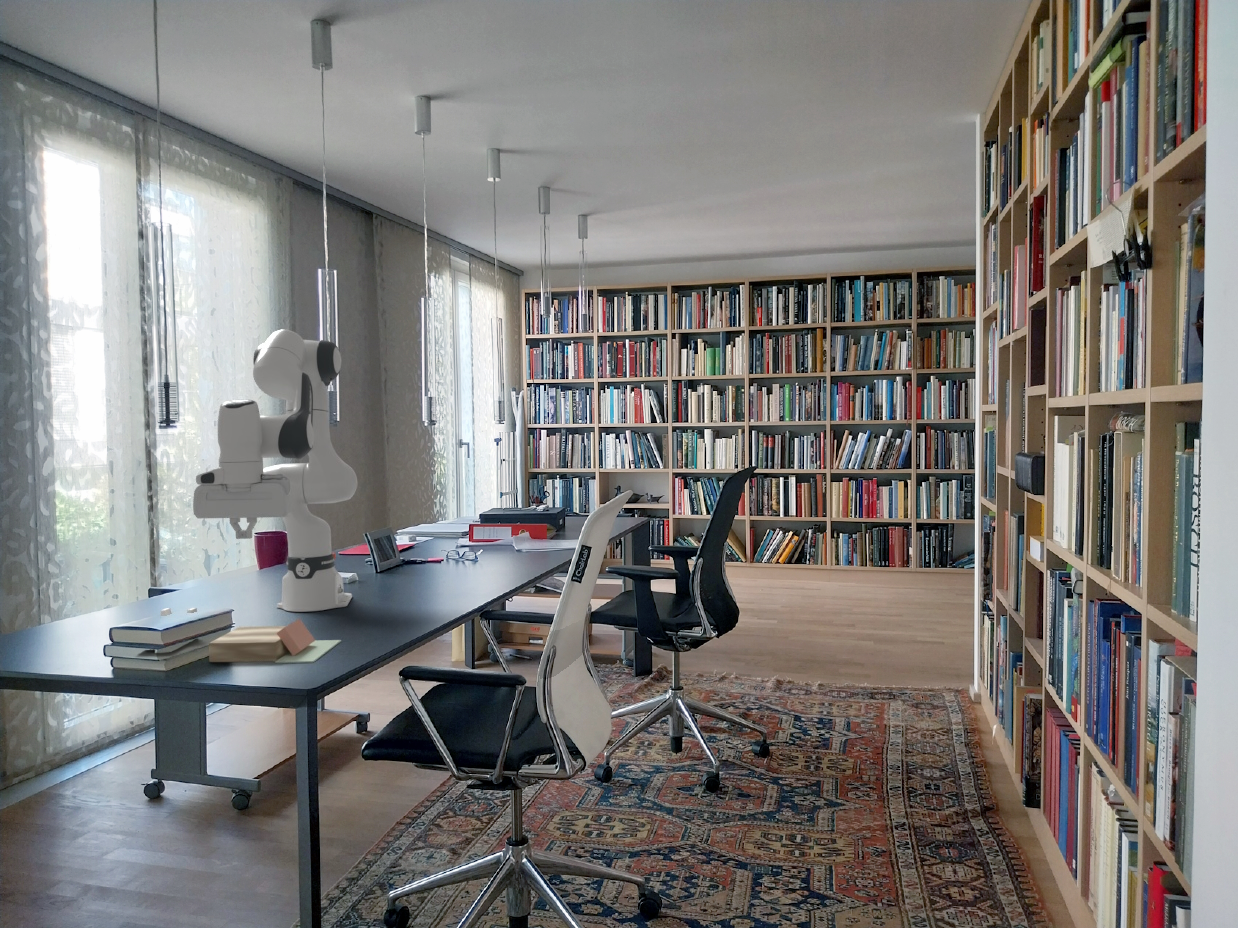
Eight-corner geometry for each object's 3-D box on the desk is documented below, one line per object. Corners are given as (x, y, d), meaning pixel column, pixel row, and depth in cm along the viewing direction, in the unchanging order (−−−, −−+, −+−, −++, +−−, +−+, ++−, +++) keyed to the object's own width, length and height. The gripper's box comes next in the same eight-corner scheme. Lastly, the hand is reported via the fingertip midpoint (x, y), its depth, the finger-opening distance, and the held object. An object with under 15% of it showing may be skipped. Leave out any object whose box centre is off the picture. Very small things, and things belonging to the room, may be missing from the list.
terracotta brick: (292, 623, 201) (299, 618, 200) (308, 645, 201) (315, 640, 201) (276, 633, 192) (284, 627, 191) (293, 655, 192) (300, 650, 192)
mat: (306, 641, 205) (306, 640, 205) (341, 641, 205) (341, 639, 205) (275, 662, 187) (275, 661, 187) (313, 662, 187) (313, 661, 187)
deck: (240, 644, 204) (239, 626, 204) (301, 643, 204) (301, 625, 204) (209, 662, 189) (208, 643, 189) (276, 661, 189) (275, 642, 189)
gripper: (294, 473, 198) (297, 535, 199) (202, 474, 198) (204, 537, 199) (283, 475, 192) (286, 539, 193) (188, 476, 192) (190, 541, 193)
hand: (244, 538), depth 196 cm, fingers closed
